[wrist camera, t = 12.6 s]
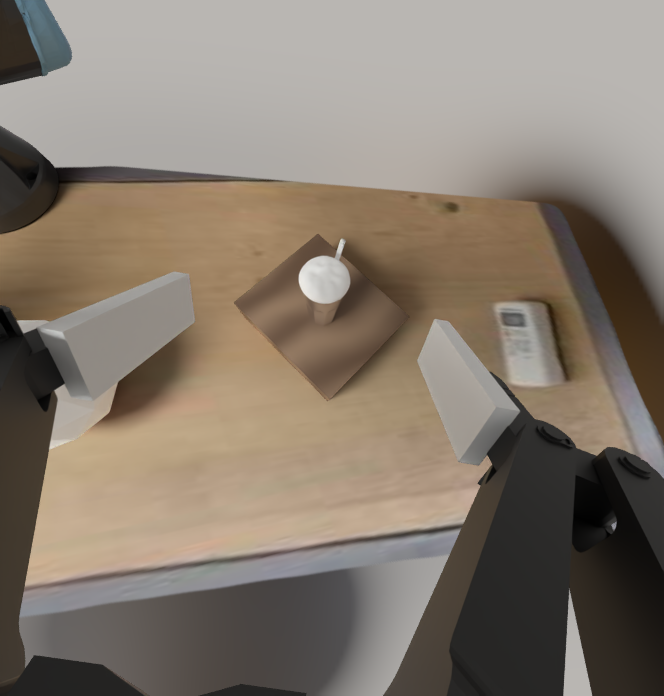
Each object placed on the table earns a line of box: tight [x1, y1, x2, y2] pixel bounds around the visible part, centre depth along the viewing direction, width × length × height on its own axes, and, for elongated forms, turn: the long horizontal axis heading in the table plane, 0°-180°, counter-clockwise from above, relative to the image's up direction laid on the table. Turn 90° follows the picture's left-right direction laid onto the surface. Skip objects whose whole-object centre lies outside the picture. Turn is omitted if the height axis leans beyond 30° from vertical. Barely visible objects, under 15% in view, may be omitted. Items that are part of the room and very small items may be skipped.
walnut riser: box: [234, 234, 409, 401], centre depth 33 cm, size 16×14×5 cm
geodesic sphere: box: [17, 320, 118, 449], centre depth 24 cm, size 14×14×14 cm
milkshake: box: [299, 238, 350, 326], centre depth 25 cm, size 4×5×10 cm
